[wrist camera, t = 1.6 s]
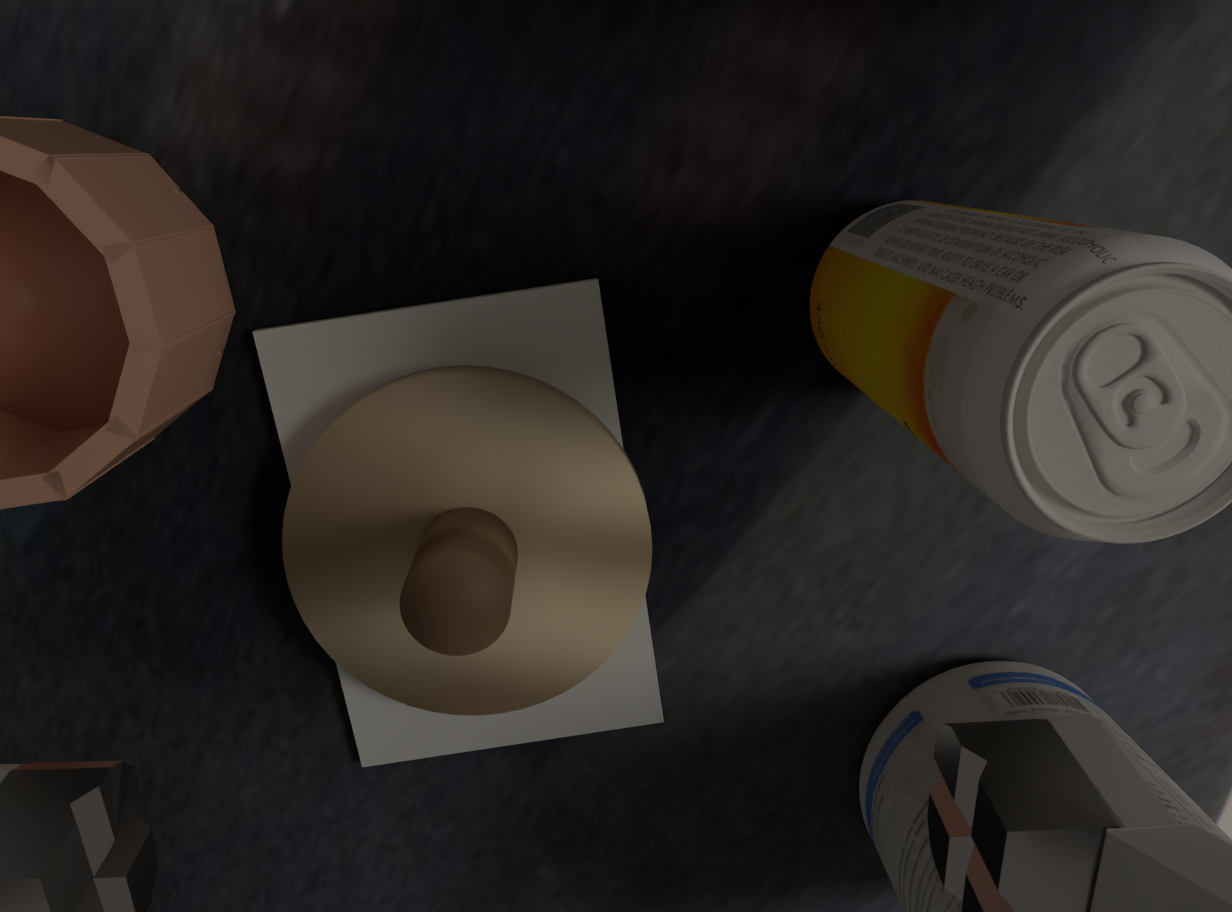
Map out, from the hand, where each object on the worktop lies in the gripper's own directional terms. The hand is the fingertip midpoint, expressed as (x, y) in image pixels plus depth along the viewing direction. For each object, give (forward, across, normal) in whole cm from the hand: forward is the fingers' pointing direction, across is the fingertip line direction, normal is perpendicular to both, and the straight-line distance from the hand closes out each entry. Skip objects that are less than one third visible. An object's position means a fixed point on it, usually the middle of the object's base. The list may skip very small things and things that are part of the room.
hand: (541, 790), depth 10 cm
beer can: (+24, +11, -1) cm, 26 cm away
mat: (+23, -4, -9) cm, 25 cm away
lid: (+22, -4, -9) cm, 24 cm away
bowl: (+24, -16, 0) cm, 28 cm away
